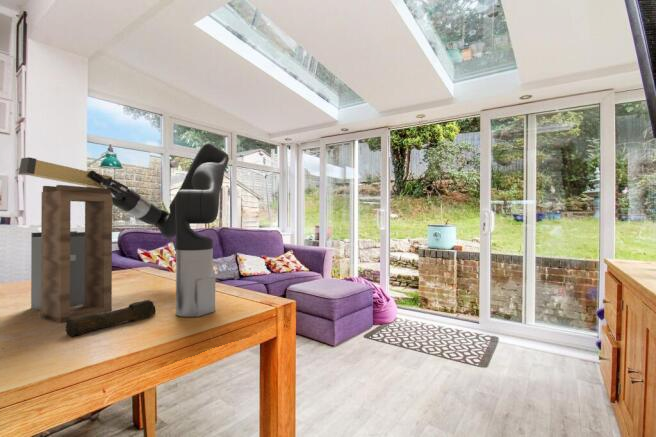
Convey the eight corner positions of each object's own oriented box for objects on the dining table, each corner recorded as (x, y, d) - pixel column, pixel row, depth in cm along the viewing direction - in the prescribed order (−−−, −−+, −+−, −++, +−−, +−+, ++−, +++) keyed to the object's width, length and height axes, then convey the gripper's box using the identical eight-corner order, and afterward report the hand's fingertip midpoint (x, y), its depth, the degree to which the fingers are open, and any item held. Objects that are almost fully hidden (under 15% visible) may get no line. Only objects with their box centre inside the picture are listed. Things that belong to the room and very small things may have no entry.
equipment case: (91, 302, 98) (91, 232, 98) (47, 312, 88) (47, 233, 88) (75, 299, 102) (75, 231, 101) (31, 308, 92) (31, 232, 92)
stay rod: (110, 189, 105) (112, 176, 106) (26, 172, 86) (29, 157, 86) (103, 189, 107) (104, 176, 107) (18, 173, 88) (21, 158, 88)
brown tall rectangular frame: (111, 310, 90) (112, 188, 90) (60, 323, 79) (61, 184, 79) (92, 306, 93) (92, 189, 93) (41, 318, 83) (41, 186, 83)
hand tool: (70, 340, 69) (70, 318, 69) (64, 335, 71) (64, 314, 71) (160, 318, 84) (160, 300, 84) (152, 315, 86) (152, 297, 86)
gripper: (124, 194, 118) (78, 165, 105) (150, 193, 112) (105, 161, 99) (114, 212, 115) (65, 184, 102) (140, 212, 109) (92, 182, 95)
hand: (85, 173), depth 100 cm, fingers closed on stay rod, 4 cm apart
